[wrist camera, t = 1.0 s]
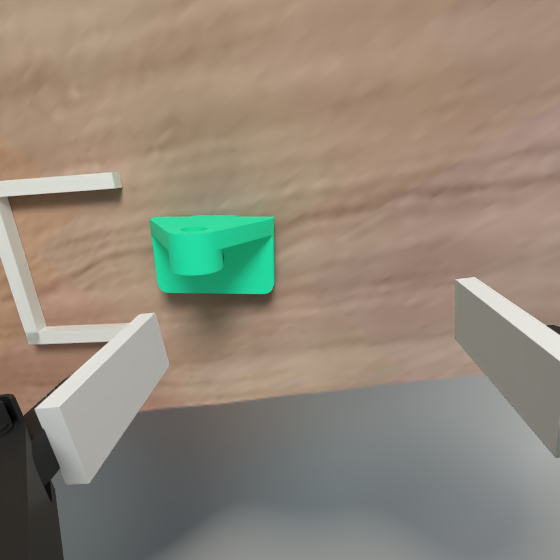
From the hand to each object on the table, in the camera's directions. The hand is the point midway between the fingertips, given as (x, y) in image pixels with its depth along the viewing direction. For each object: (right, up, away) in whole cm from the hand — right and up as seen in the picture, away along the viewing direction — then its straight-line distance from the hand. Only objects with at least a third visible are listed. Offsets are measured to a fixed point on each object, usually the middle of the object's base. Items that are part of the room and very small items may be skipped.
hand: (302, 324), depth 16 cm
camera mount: (-7, +5, +22) cm, 24 cm away
